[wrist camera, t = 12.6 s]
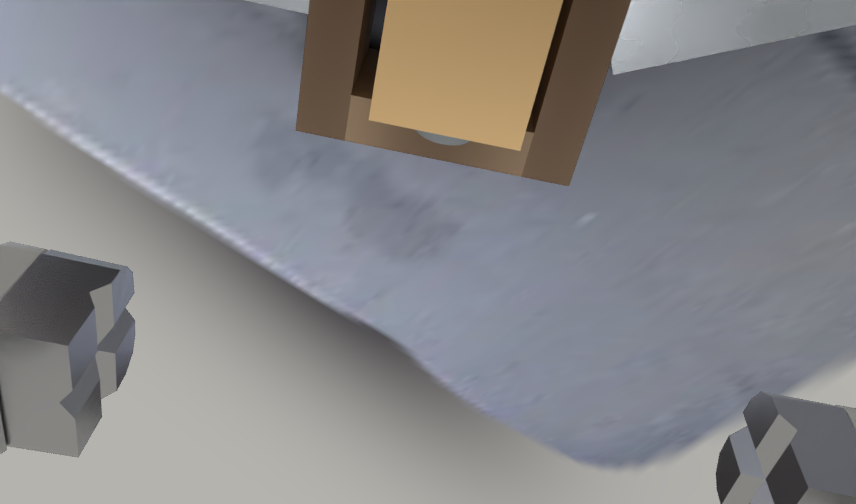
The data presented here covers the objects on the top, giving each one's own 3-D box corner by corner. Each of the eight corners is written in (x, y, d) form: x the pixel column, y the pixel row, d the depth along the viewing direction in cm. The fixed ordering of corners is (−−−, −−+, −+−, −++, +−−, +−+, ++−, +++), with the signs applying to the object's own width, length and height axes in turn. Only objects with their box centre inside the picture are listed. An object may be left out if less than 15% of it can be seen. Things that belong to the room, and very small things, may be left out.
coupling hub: (642, -133, 23) (667, -107, 20) (559, 130, 28) (568, 186, 24) (353, -198, 23) (328, -183, 19) (319, 80, 27) (295, 130, 24)
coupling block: (552, -90, 24) (571, -27, 18) (509, 72, 27) (514, 171, 21) (421, -118, 24) (398, -64, 18) (393, 48, 27) (365, 140, 21)
